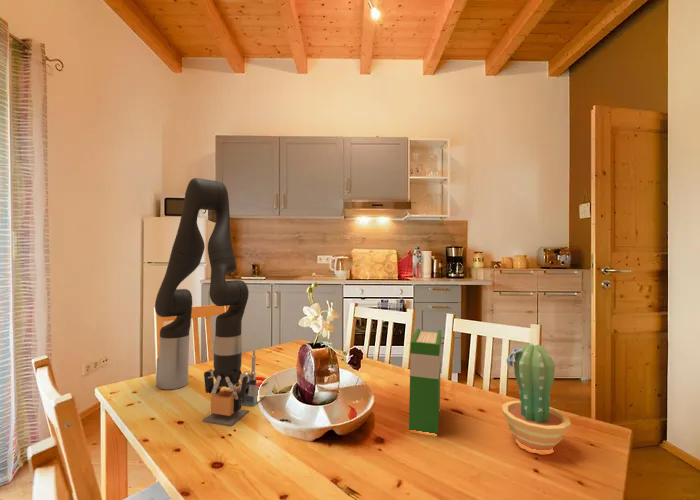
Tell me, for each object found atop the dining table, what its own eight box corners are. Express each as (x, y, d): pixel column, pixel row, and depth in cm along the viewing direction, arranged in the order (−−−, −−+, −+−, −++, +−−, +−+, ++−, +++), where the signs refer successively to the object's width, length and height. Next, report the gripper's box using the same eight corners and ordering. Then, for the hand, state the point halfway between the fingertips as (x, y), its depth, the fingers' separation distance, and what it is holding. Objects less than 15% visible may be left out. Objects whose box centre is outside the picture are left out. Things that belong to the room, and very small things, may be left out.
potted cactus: (530, 425, 97) (532, 336, 97) (585, 456, 82) (587, 351, 83) (487, 435, 91) (489, 340, 92) (538, 469, 77) (540, 357, 77)
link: (210, 412, 96) (210, 396, 96) (223, 404, 102) (223, 388, 102) (229, 415, 95) (229, 399, 95) (241, 406, 100) (241, 391, 100)
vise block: (218, 406, 105) (219, 378, 105) (238, 392, 115) (239, 366, 115) (248, 410, 102) (249, 381, 102) (266, 396, 113) (266, 370, 113)
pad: (202, 421, 95) (202, 420, 95) (222, 407, 104) (222, 406, 104) (231, 426, 93) (231, 424, 93) (248, 411, 101) (248, 410, 101)
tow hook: (246, 379, 128) (239, 388, 119) (248, 344, 129) (241, 350, 120) (269, 380, 128) (264, 388, 119) (271, 344, 129) (265, 350, 120)
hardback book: (415, 404, 109) (417, 328, 109) (439, 408, 107) (441, 330, 107) (408, 432, 92) (410, 341, 92) (437, 437, 90) (439, 344, 90)
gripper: (197, 351, 97) (195, 411, 96) (243, 356, 93) (241, 419, 93) (214, 344, 104) (212, 400, 104) (257, 349, 100) (255, 407, 100)
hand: (226, 409), depth 98 cm, fingers closed on link, 6 cm apart
